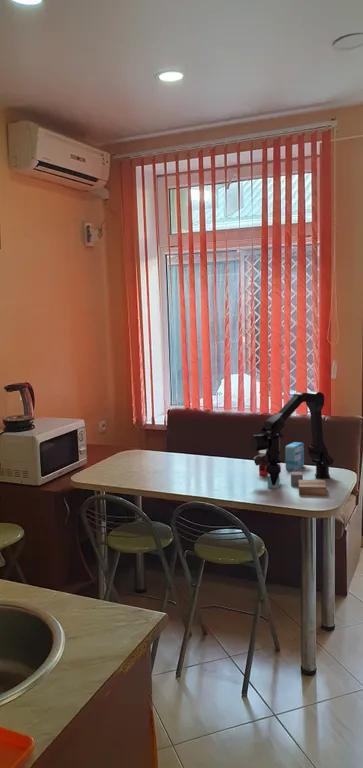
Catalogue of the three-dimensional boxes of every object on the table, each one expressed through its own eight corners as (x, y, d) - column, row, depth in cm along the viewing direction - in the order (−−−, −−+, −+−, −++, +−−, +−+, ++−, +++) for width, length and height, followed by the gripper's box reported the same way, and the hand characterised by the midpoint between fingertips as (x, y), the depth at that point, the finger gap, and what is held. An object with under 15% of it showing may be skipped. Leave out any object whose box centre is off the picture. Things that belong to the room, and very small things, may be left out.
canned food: (278, 473, 275) (278, 450, 273) (271, 477, 268) (271, 453, 267) (263, 471, 279) (263, 448, 278) (256, 475, 272) (256, 452, 271)
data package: (294, 471, 277) (293, 446, 275) (285, 470, 279) (285, 445, 278) (304, 466, 287) (304, 442, 285) (295, 465, 289) (295, 441, 288)
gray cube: (290, 482, 258) (290, 471, 258) (302, 482, 258) (302, 471, 257) (291, 485, 253) (291, 474, 253) (302, 486, 253) (302, 474, 252)
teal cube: (267, 484, 257) (267, 473, 257) (279, 484, 256) (279, 473, 256) (267, 487, 252) (267, 476, 252) (279, 487, 251) (279, 476, 251)
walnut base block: (298, 488, 250) (298, 479, 250) (324, 489, 248) (324, 480, 248) (299, 496, 239) (299, 486, 239) (326, 497, 237) (326, 487, 237)
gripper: (255, 443, 263) (255, 477, 265) (253, 453, 245) (254, 489, 246) (280, 443, 261) (280, 477, 263) (280, 453, 243) (280, 489, 244)
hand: (273, 483), depth 254 cm, fingers closed on teal cube, 5 cm apart
